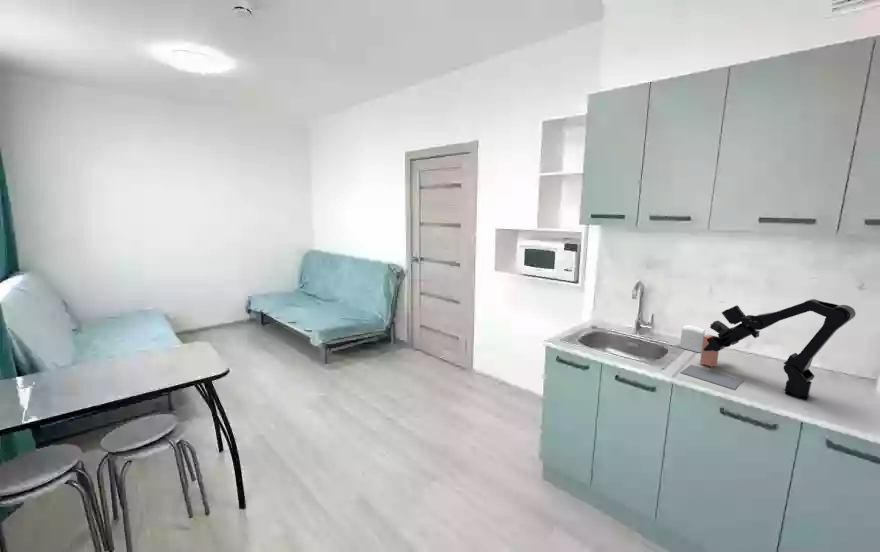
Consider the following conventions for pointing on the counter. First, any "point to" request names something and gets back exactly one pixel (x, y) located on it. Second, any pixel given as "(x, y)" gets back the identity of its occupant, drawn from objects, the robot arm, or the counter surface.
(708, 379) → the mat
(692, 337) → the photo printer
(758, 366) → the counter surface
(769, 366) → the counter surface
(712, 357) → the card box
